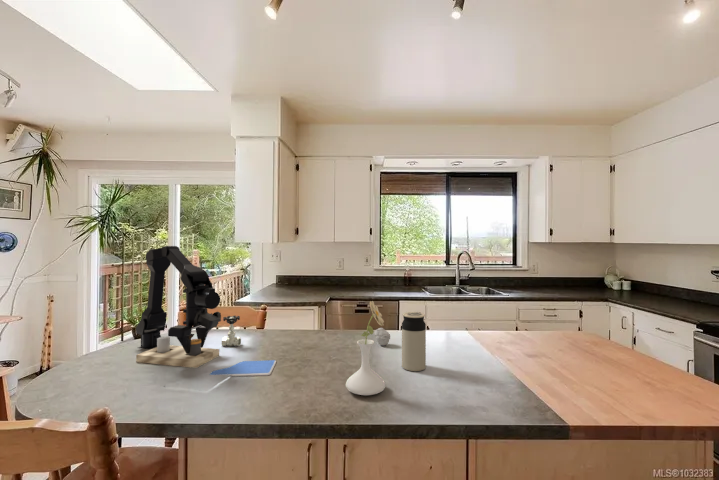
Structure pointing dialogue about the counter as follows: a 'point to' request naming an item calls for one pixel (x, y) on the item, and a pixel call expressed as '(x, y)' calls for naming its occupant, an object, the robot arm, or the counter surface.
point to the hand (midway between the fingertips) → (194, 350)
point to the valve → (231, 333)
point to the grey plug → (163, 344)
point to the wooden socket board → (177, 357)
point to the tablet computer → (248, 368)
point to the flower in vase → (367, 364)
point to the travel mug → (413, 341)
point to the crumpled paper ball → (382, 336)
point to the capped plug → (195, 347)
